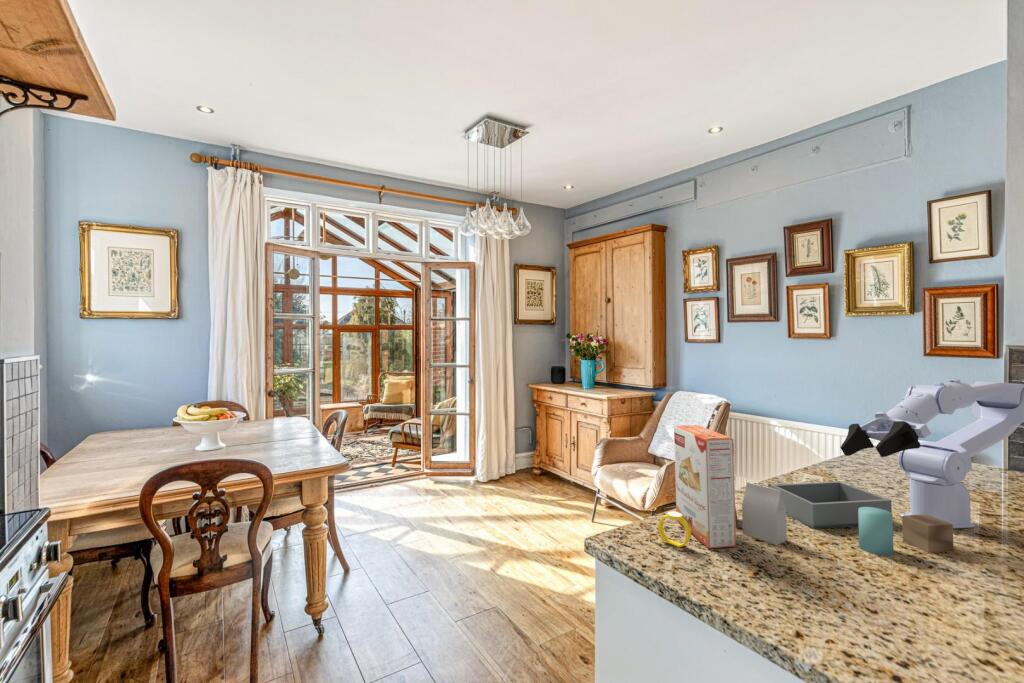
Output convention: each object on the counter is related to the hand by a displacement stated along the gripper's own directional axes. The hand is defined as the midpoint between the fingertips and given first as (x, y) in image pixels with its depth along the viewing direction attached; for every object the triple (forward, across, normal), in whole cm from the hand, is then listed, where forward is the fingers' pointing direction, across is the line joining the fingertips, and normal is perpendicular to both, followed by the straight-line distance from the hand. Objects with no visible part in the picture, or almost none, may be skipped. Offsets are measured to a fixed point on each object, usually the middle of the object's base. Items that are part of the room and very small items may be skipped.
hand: (861, 451), depth 93 cm
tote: (+3, -14, +14) cm, 20 cm away
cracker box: (+33, -12, +1) cm, 35 cm away
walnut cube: (+1, +3, +19) cm, 19 cm away
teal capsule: (+10, +2, +14) cm, 18 cm away
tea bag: (+24, -8, +6) cm, 26 cm away
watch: (+41, -9, -2) cm, 42 cm away
